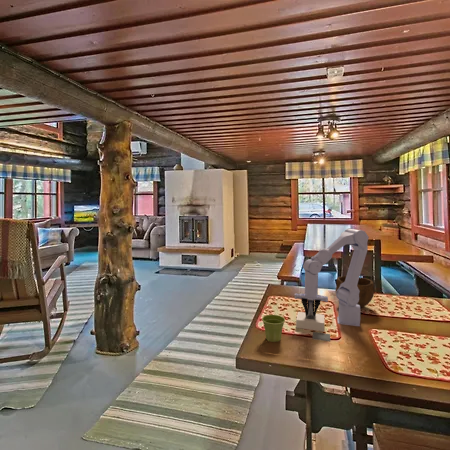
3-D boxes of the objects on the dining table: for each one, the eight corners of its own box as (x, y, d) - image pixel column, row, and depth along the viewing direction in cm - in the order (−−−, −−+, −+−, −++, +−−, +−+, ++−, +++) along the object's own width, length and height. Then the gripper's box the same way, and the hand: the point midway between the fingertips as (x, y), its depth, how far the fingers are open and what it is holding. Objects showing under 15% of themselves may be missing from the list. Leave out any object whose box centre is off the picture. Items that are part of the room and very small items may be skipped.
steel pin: (313, 320, 140) (314, 299, 139) (313, 323, 137) (314, 301, 136) (307, 319, 141) (307, 298, 140) (307, 322, 138) (307, 301, 137)
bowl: (375, 304, 166) (376, 277, 165) (370, 315, 150) (371, 286, 149) (339, 298, 176) (340, 273, 175) (331, 308, 161) (332, 281, 159)
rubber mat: (330, 334, 130) (330, 334, 130) (330, 342, 123) (330, 341, 123) (313, 332, 132) (313, 331, 132) (312, 339, 126) (312, 338, 126)
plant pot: (279, 346, 120) (280, 325, 119) (258, 340, 125) (258, 320, 124) (288, 337, 128) (288, 317, 127) (267, 332, 133) (267, 313, 132)
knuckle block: (324, 323, 142) (324, 314, 142) (324, 331, 133) (324, 323, 132) (297, 319, 146) (298, 311, 146) (296, 328, 136) (296, 319, 136)
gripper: (294, 287, 136) (293, 316, 137) (328, 290, 132) (327, 320, 133) (295, 282, 143) (295, 310, 144) (328, 285, 138) (327, 314, 139)
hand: (310, 315), depth 139 cm, fingers closed on steel pin, 3 cm apart
